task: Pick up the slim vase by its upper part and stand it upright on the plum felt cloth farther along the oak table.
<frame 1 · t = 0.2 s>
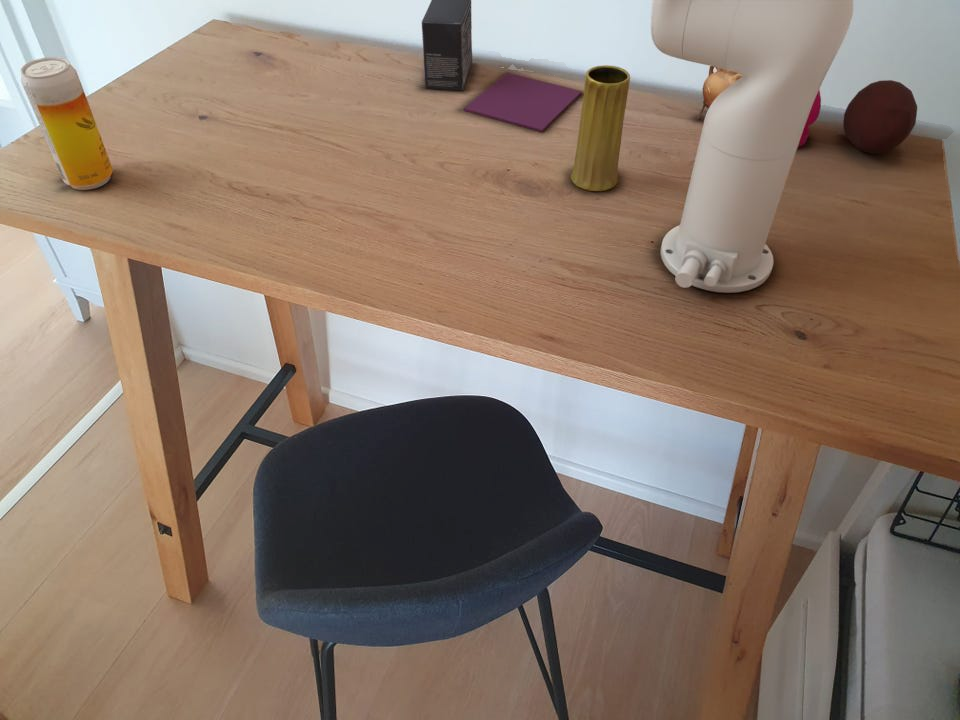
small box: (448, 76, 123), on the table
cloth: (523, 102, 116), on the table
pot: (716, 118, 113), on the table
vase: (594, 181, 101), on the table
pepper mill: (782, 138, 109), on the table
dark brown egg: (866, 149, 108), on the table
beer can: (90, 180, 100), on the table
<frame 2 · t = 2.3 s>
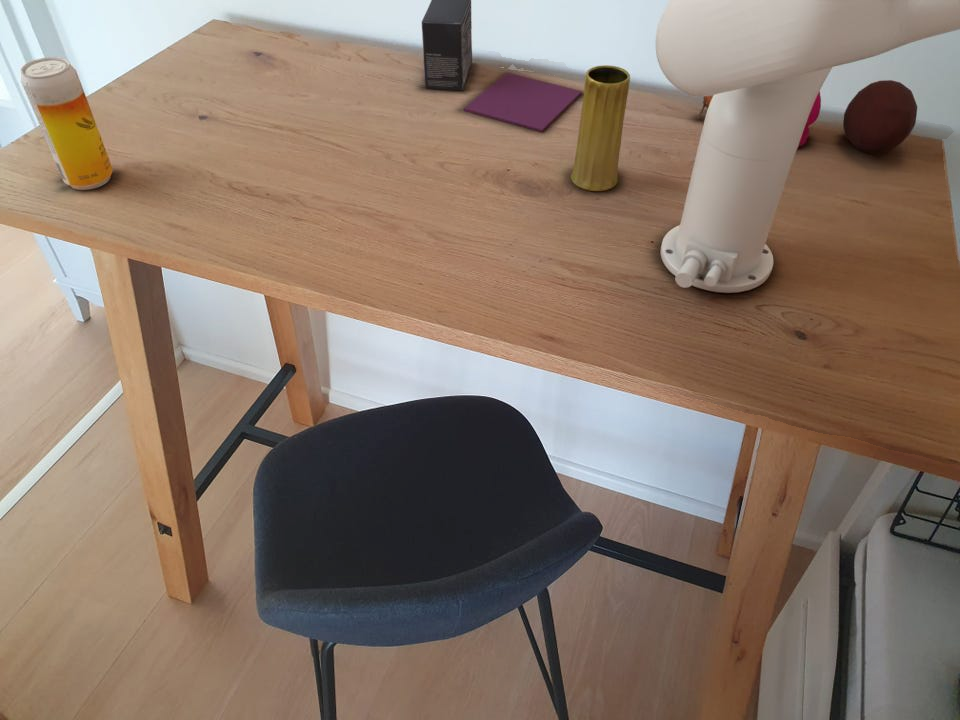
nothing on the table moved.
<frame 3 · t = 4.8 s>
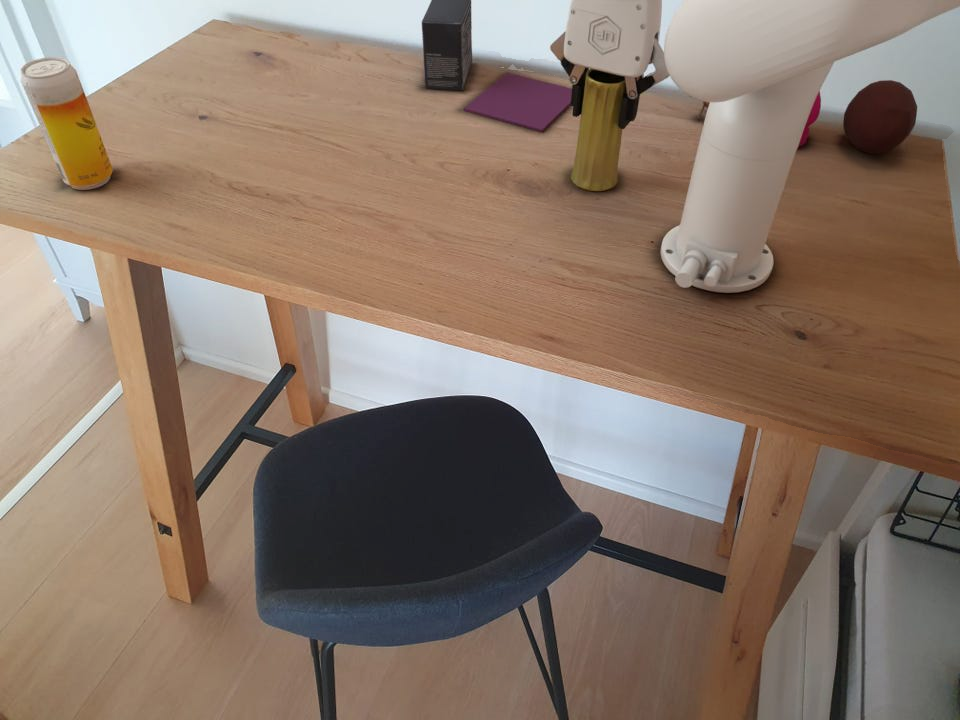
hand: (602, 116, 95), 9 cm above the table, tool pointing down, fingers closed on vase, 5 cm apart
vase: (593, 180, 101), on the table, touching gripper
everything else where it was.
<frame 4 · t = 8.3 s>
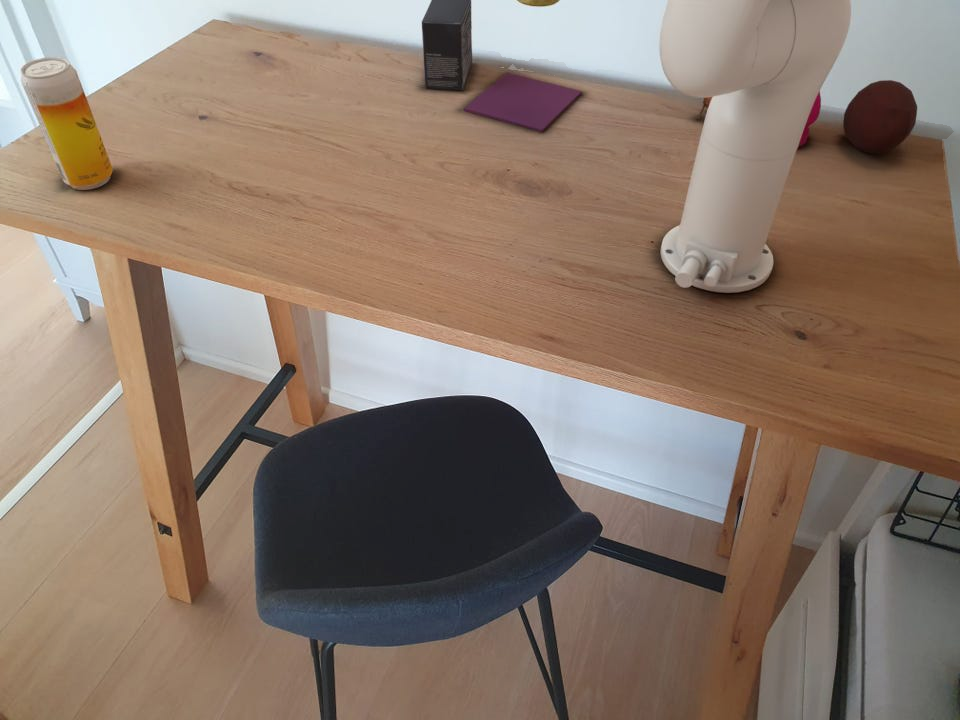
vase: (537, 0, 103), point 16 cm above the table, touching gripper
everything else where it was.
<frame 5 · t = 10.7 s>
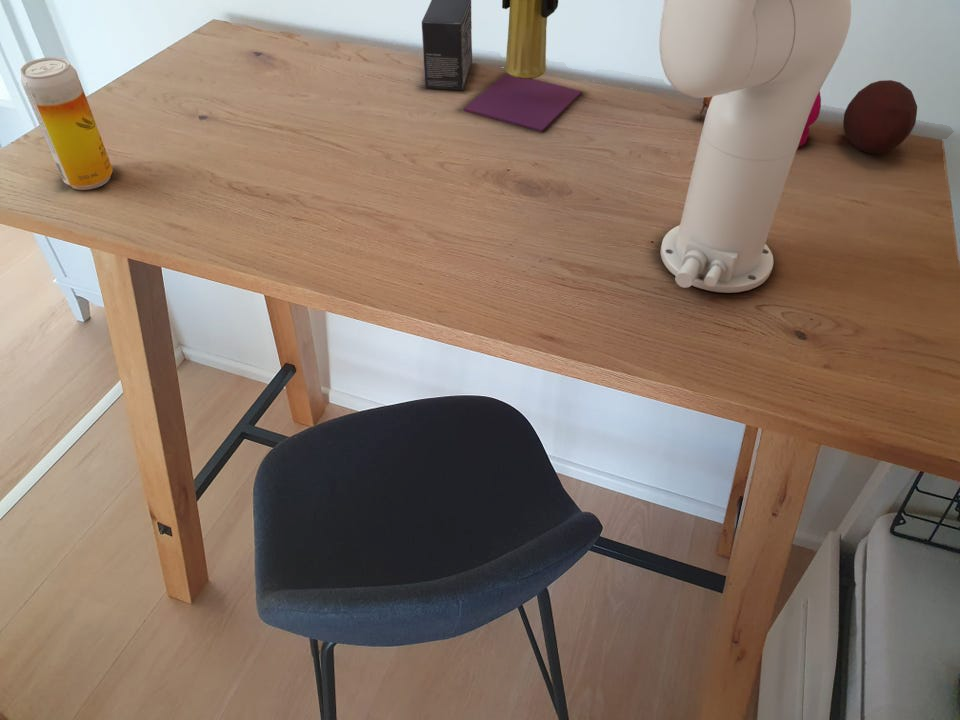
hand: (528, 8, 107), 14 cm above the table, tool pointing down, fingers closed on vase, 5 cm apart
vase: (525, 71, 113), point 5 cm above the table, touching gripper
everything else where it was.
when the fingers open (9 cm above the table, at t = 12.3 s): vase stays where it is, resting on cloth.
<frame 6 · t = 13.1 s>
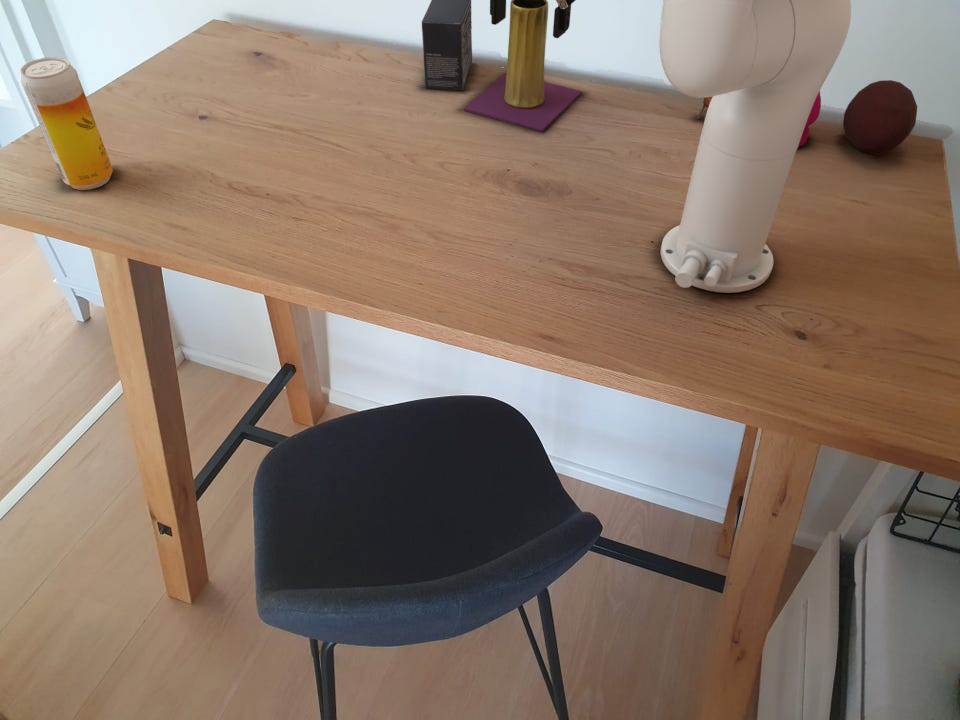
hand: (528, 28, 108), 11 cm above the table, tool pointing down, fingers open, 9 cm apart
vase: (524, 100, 116), resting on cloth
everything else where it was.
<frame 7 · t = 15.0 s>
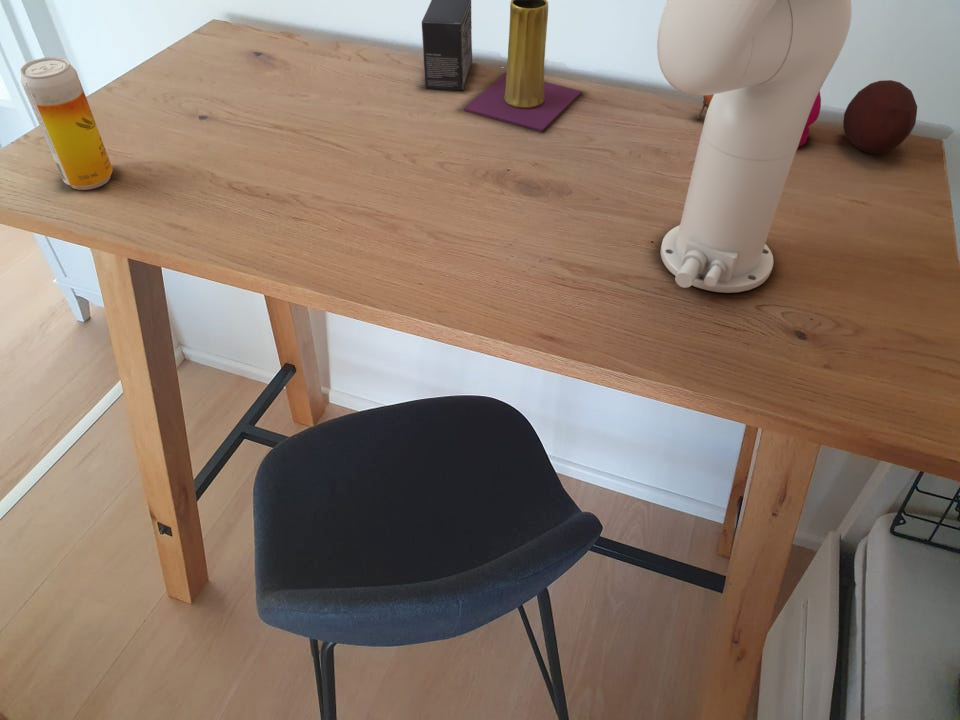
nothing on the table moved.
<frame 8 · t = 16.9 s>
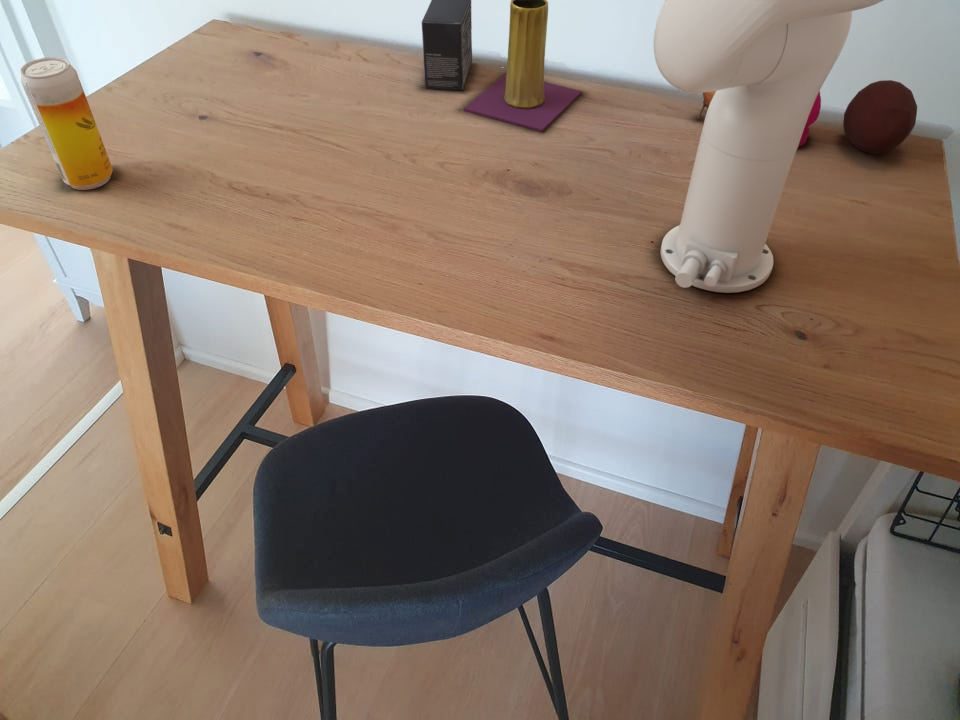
nothing on the table moved.
at the end: vase inside the target area on the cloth (0.1 cm from its centre), point 0.2 cm above the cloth's base; vase tilted 0°; the gripper is holding nothing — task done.
